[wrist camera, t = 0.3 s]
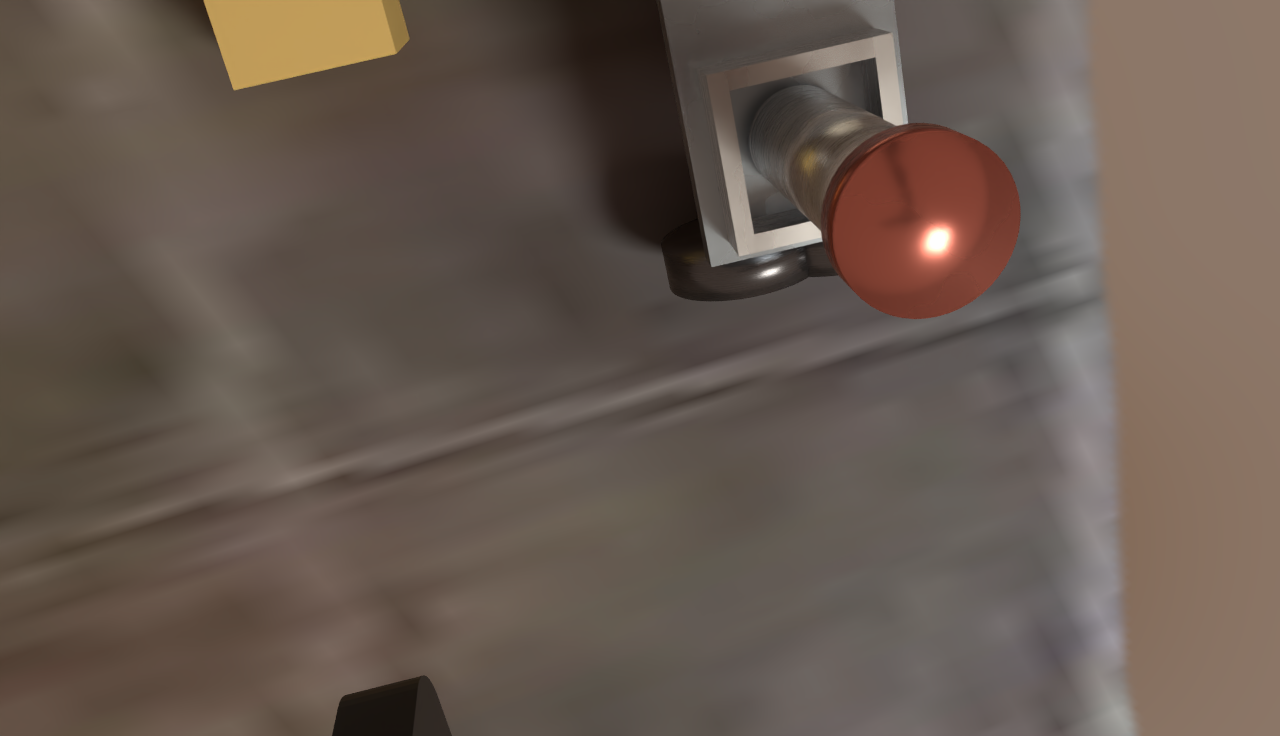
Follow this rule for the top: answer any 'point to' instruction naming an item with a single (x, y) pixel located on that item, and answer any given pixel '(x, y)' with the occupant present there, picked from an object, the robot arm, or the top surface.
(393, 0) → the block
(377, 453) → the top surface
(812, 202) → the pin
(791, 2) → the trolley
